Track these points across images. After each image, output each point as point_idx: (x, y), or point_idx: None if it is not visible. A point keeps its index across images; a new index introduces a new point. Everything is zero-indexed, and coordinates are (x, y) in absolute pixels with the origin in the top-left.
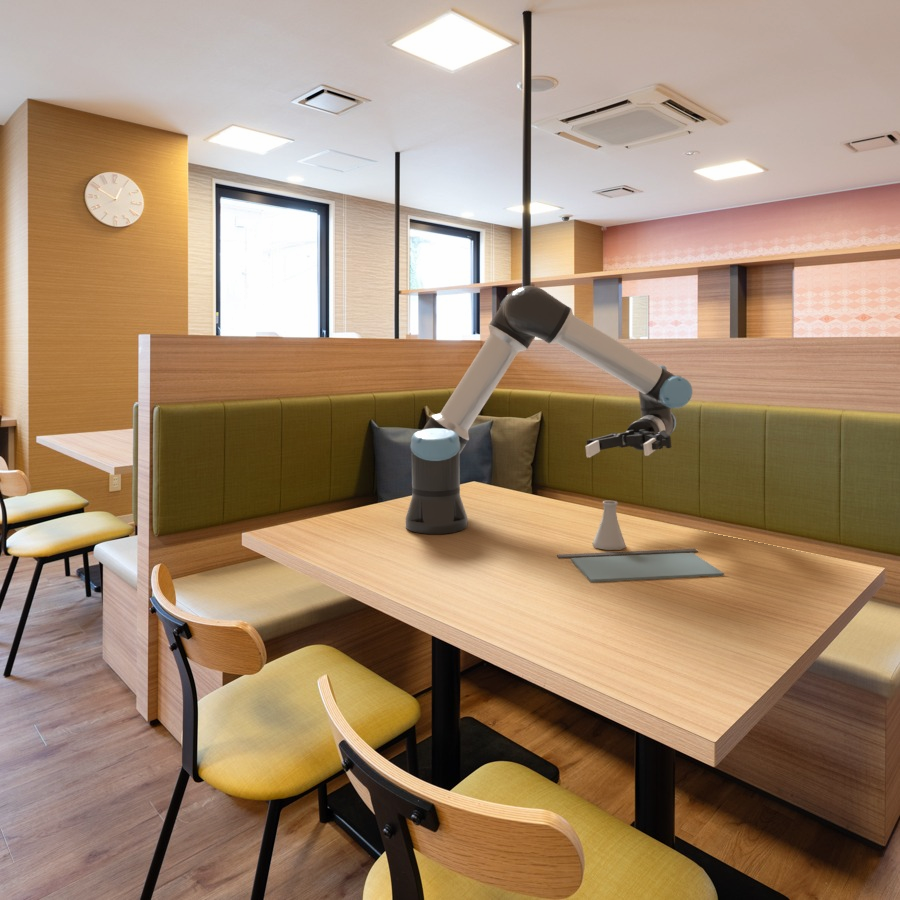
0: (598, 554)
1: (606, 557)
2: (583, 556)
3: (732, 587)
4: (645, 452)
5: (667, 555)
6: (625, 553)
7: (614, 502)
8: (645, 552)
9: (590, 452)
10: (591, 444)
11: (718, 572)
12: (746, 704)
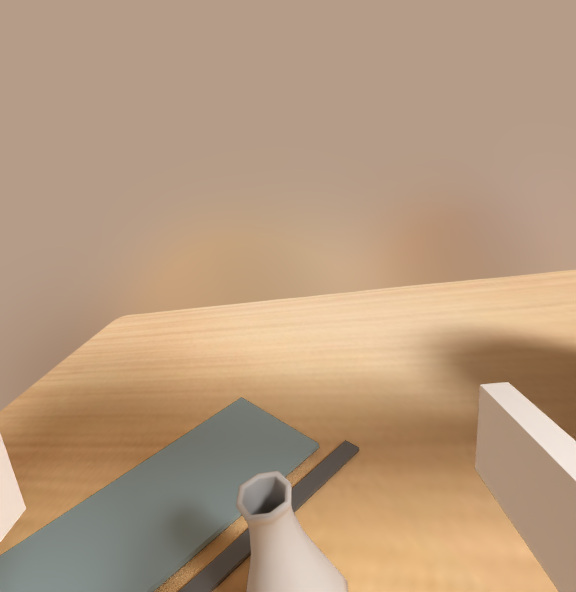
0: None
1: None
2: (308, 475)
3: None
4: (8, 488)
5: None
6: (224, 554)
7: (253, 516)
8: None
9: (489, 456)
10: (523, 429)
11: (3, 557)
12: (92, 337)
